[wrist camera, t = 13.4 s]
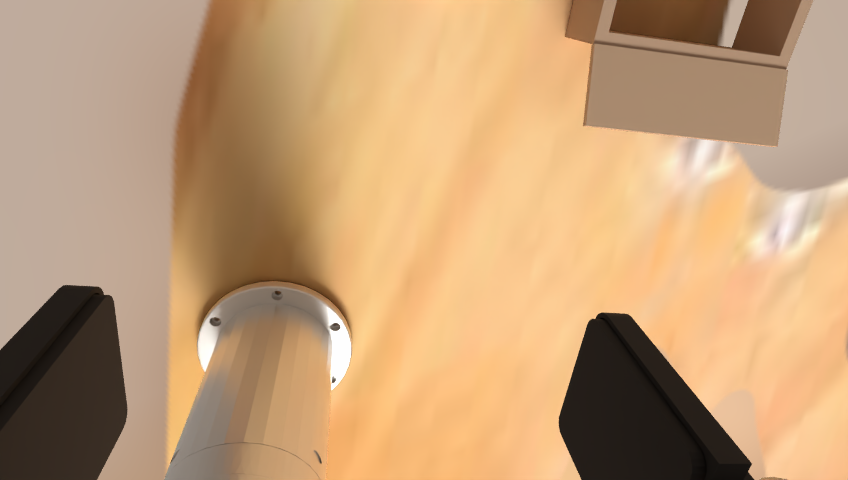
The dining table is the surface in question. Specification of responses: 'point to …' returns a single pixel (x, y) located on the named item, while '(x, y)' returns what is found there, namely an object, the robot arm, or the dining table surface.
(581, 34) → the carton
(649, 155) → the dining table surface
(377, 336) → the dining table surface
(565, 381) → the dining table surface
